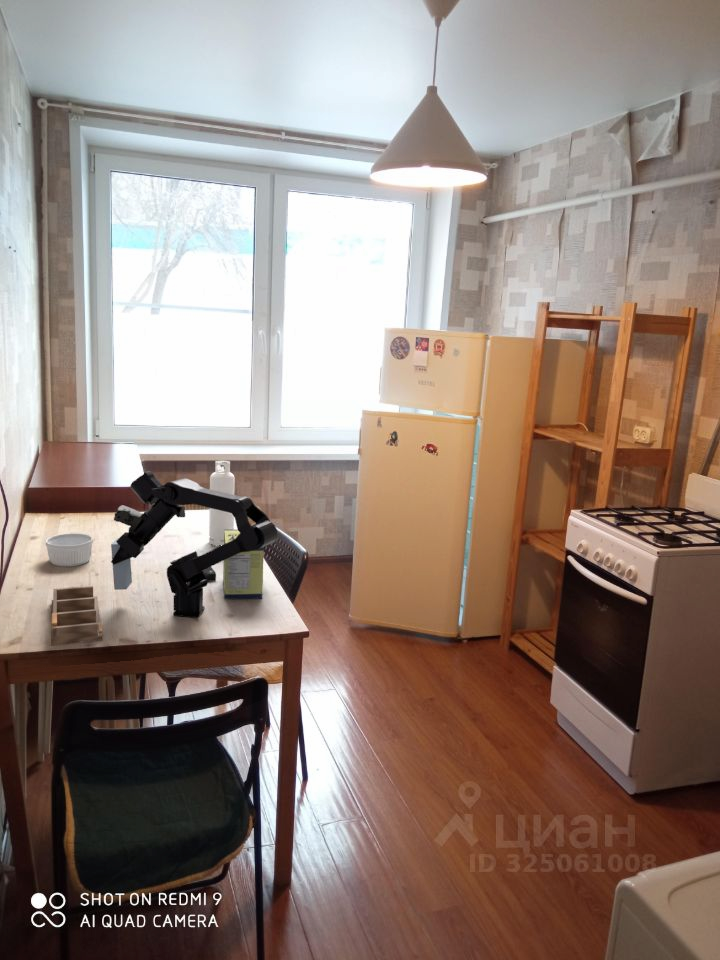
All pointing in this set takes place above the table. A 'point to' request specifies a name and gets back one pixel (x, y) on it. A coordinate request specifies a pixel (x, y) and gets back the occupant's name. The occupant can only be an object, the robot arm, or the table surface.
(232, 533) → the protein box
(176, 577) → the robot arm
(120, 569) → the blanking panel
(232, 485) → the bottle
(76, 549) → the ramekin
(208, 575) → the disk drive
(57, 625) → the rack
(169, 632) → the table surface
